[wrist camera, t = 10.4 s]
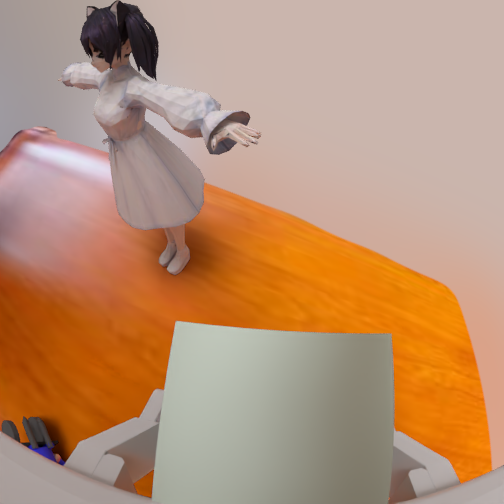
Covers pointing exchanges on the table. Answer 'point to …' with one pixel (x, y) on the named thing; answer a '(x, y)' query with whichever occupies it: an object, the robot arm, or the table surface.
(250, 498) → the sage block
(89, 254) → the table surface
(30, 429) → the character figurine
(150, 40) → the figurine
